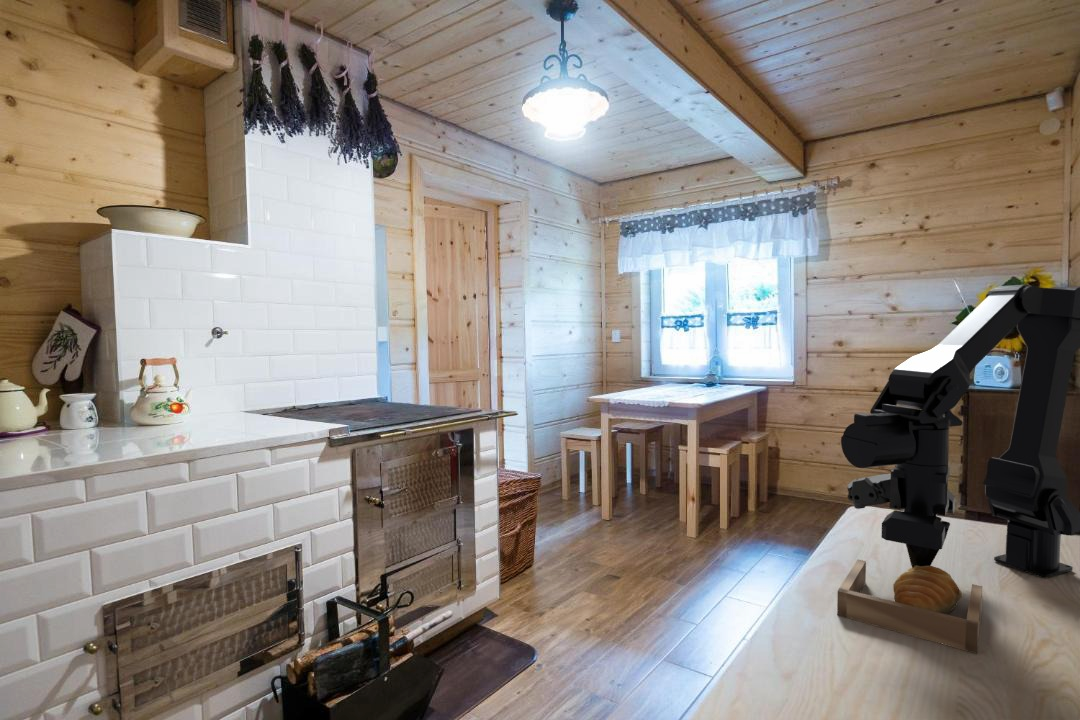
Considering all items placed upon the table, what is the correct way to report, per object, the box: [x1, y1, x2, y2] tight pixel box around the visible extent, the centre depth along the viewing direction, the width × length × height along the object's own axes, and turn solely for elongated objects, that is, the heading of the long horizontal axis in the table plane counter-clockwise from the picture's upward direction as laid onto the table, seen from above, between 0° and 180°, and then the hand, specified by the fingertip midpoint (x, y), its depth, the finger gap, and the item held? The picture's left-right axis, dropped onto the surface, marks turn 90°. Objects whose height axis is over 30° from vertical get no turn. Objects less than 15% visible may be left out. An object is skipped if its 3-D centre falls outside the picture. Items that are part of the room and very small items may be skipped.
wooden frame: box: [836, 559, 983, 654], centre depth 70 cm, size 12×14×3 cm
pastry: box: [892, 565, 963, 615], centre depth 72 cm, size 9×7×4 cm
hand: (919, 576), depth 77 cm, fingers closed
